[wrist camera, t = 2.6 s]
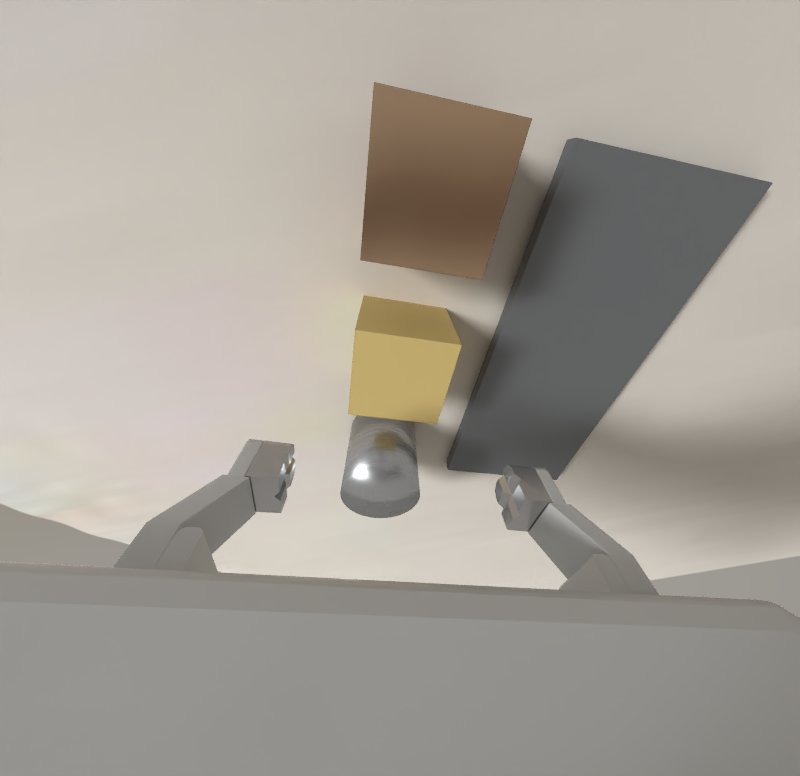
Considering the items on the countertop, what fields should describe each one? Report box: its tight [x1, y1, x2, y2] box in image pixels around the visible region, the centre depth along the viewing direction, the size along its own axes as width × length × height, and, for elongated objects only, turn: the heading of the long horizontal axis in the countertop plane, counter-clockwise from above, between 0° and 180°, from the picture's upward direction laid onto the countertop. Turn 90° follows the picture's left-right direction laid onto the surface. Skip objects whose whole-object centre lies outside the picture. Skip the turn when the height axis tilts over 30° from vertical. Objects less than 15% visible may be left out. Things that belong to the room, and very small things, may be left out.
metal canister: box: [340, 415, 420, 518], centre depth 21 cm, size 5×5×6 cm
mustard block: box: [348, 296, 462, 424], centre depth 17 cm, size 5×5×5 cm
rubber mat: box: [446, 138, 772, 480], centre depth 20 cm, size 22×10×1 cm, turn 171°
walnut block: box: [360, 82, 532, 280], centre depth 12 cm, size 5×5×5 cm
